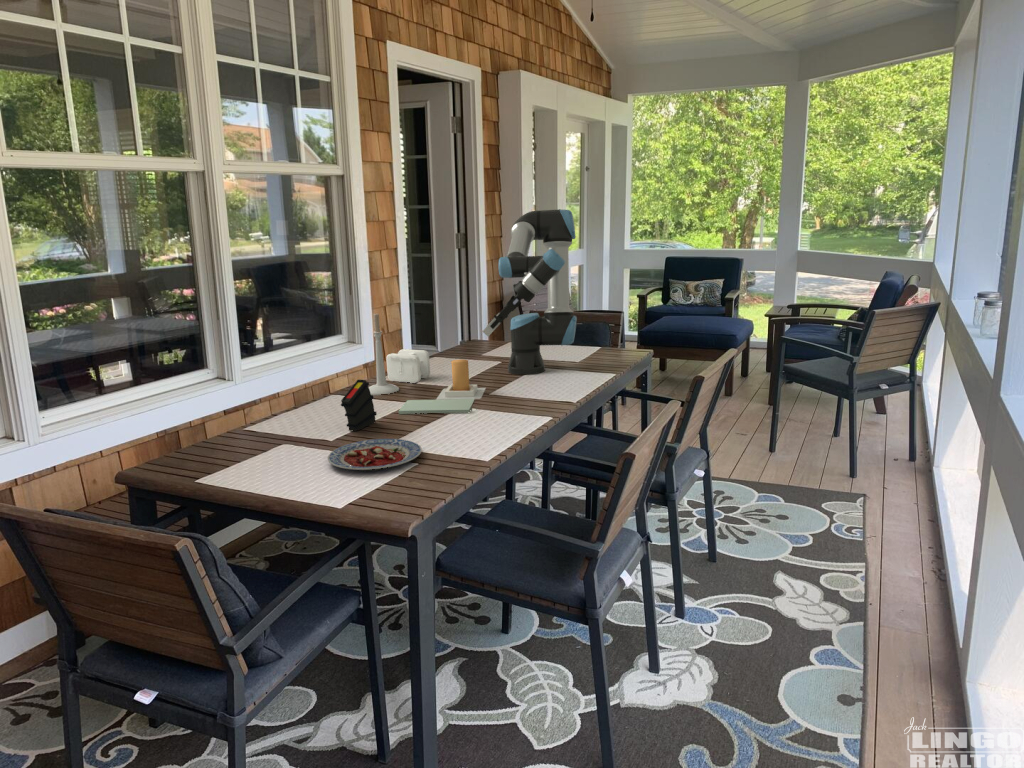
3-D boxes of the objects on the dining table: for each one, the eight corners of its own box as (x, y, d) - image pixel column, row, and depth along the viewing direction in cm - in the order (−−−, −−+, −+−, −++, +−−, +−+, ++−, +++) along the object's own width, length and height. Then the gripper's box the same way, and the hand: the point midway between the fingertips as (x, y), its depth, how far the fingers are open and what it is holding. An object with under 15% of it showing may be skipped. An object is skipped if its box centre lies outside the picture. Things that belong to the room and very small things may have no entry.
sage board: (474, 402, 270) (474, 398, 270) (469, 413, 256) (469, 409, 256) (407, 403, 272) (407, 400, 272) (398, 414, 259) (398, 410, 258)
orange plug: (470, 391, 282) (469, 359, 279) (468, 395, 276) (466, 362, 273) (454, 391, 282) (452, 359, 279) (452, 395, 276) (450, 363, 273)
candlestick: (372, 386, 299) (366, 310, 292) (403, 387, 297) (398, 310, 290) (359, 395, 287) (352, 315, 280) (392, 395, 284) (385, 315, 277)
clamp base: (486, 390, 286) (485, 382, 285) (480, 401, 271) (480, 393, 270) (443, 391, 288) (443, 383, 287) (436, 402, 272) (435, 394, 271)
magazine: (382, 414, 252) (367, 379, 243) (362, 442, 243) (346, 406, 234) (372, 414, 254) (357, 378, 245) (352, 441, 245) (336, 405, 236)
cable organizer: (432, 379, 309) (431, 350, 306) (418, 384, 300) (416, 355, 297) (402, 376, 316) (400, 348, 313) (386, 382, 306) (384, 353, 304)
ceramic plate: (338, 483, 197) (337, 472, 197) (320, 454, 220) (319, 444, 220) (434, 466, 207) (433, 455, 206) (407, 440, 230) (406, 431, 229)
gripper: (523, 276, 280) (484, 318, 284) (517, 283, 255) (475, 329, 260) (538, 291, 280) (498, 332, 285) (534, 298, 256) (491, 344, 261)
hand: (487, 331), depth 272 cm, fingers open, 13 cm apart
